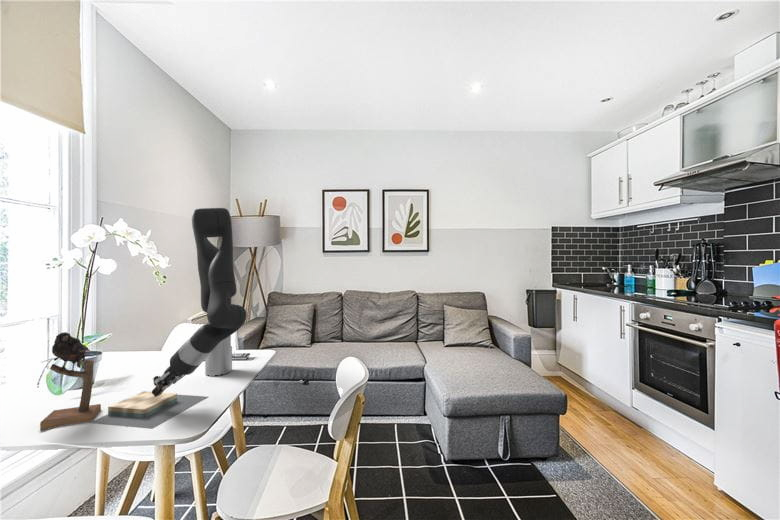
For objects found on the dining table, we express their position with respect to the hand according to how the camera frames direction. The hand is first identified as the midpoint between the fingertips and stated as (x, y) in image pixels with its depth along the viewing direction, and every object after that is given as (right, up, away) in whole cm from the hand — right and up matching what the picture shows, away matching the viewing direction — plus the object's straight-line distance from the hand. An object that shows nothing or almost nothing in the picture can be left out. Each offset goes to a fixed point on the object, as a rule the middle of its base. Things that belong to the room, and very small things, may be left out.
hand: (155, 393), depth 105 cm
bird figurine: (-20, -5, -4) cm, 21 cm away
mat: (0, -5, 0) cm, 5 cm away
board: (+2, -3, 0) cm, 4 cm away
